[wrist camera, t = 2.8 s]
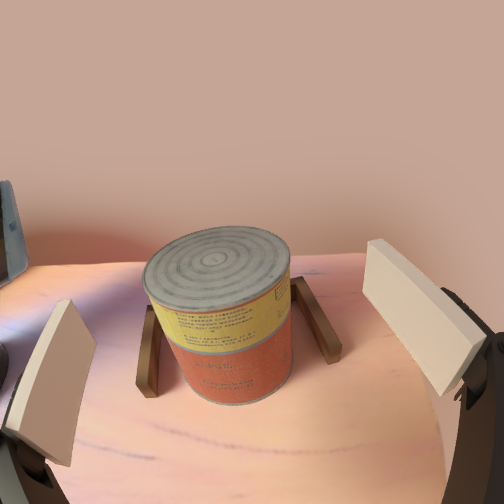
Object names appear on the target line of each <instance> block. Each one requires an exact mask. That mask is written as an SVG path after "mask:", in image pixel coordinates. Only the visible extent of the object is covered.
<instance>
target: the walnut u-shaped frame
mask: <svg viewBox="0 0 504 504" xmlns="http://www.w3.org/2000/svg"><path fill="white" fill-rule="evenodd" d="M290 295H291V301H294V300H297V302H298V304H299V306H300V308H301V310H302V312H303V314H304V317H305V319H306V321H307V323H308V325H309V327H310V329H311V331H312V333H313V335H314V337H315V339H316V341H317V343H318V345H319V347H320V350H321V352H322V354H323V356H324V358H325V360H326V362H327V364H328V365H329V364H332V363H336V362H339V359H340V354H341V349H342V344H341V342H340V341H339V339H338V337H337V335H336V334H335V332H334V330H333V328H332V327H331V325H330V323H329V321H328V319H327V318H326V316H325V314H324V312H323V311H322V309H321V307H320V306H319V304H318V302H317V300H316V299H315V297H314V295H313V293H312V292H311V290H310V288H309V287H308V285H307V283H306V281H305V280H304V278H303V276H301V277H296V278H292V279H290ZM161 331H162V327H161V324H160V322H159V320H158V318H157V315H156V313H155V310H154V308H153V306H152V305H147V311H146V316H145V322H144V328H143V334H142V340H141V346H140V353H139V360H138V368H137V376H136V386H137V387H138V388H139V390H140V391H141V392H142V394H143V395H144V396H145V398H154V397H157V385H158V368H159V354H160V341H161Z"/></svg>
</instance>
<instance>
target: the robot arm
mask: <svg viewBox="0 0 504 504" xmlns="http://www.w3.org/2000/svg"><path fill="white" fill-rule="evenodd" d="M28 264H29V255H28V250H27V246H26V242H25V239H24V234H23V230H22V226H21V222H20V218H19V214H18V209H17V205H16V201H15V196H14V192H13V189H12V185H11V183H10V181H8V180H6V181H1V182H0V288H1V287H2V286H4V285H6V284H8V283H11V281H12V280H13V279H14V278H15V277H17V276H18V275H20V274H21V273H23V272H24V271H25V270H26V269H27V267H28ZM362 292H363V293H364V295H365V296H366V297H367V298H368V300H369V301H370V302H371V303H372V305H373V306H374V307H375V308H376V310H377V311H378V312H379V313H380V315H381V316H382V317H383V319H384V320H385V321H386V322H387V324H388V325H389V326H390V328H391V329H392V330H393V332H394V333H395V334H396V336H397V337H398V338H399V340H400V341H401V342H402V344H403V345H404V346H405V348H406V349H407V350H408V352H409V353H410V354H411V356H412V357H413V359H414V360H415V361H416V363H417V364H418V366H419V367H420V368H421V370H422V371H423V373H424V374H425V375H426V377H427V378H428V380H429V381H430V383H431V384H432V385H433V387H434V388H435V390H436V391H437V393H438V394H439V396H440V397H441V396H442V395H444V394H446V393H447V392H449V391H450V390H452V389H453V388H455V386H456V385H457V383H458V382H459V381H460V379H461V378H462V379H463V381H464V382H465V383H464V384H463V385H462V387H461V388H460V389H459V391H458V392H457V394H456V395H455V397H454V401H456V400H457V398H458V397H459V396H460V395H461V393H462V396H461V399H460V400H459V401H461V409H460V418H459V428H458V434H457V440H456V446H455V452H454V457H453V462H452V466H451V471H450V475H449V479H448V483H447V486H446V490H445V493H444V497H443V500H442V503H441V504H504V332H499V333H497V334H495V333H494V332H493V331H492V330H491V329H490V328H489V327H488V326H487V325H486V324H485V323H484V322H483V321H482V320H481V319H480V318H479V317H478V316H477V315H476V314H475V313H474V312H473V311H472V310H471V309H469V307H468V306H467V305H466V304H465V303H463V301H462V300H461V299H460V298H459V297H458V296H457V295H456V294H455V293H453V292H451V291H449V290H447V289H446V288H444V287H442V288H439V287H438V286H437V285H436V284H435V283H433V282H432V281H431V280H430V279H429V278H428V277H427V276H426V275H425V274H424V273H422V272H421V271H420V270H419V269H418V268H417V267H416V266H415V265H413V264H412V263H411V262H410V261H408V260H407V259H406V258H405V257H404V256H403V255H402V254H401V253H399V252H398V251H397V250H396V249H394V248H393V247H392V246H391V245H389V244H388V243H387V242H386V241H385V240H383V239H382V238H381V239H376V240H371V241H368V246H367V256H366V266H365V274H364V283H363V290H362ZM96 345H97V343H96V341H95V340H94V338H93V337H92V335H91V333H90V332H89V330H88V328H87V327H86V325H85V323H84V322H83V320H82V318H81V316H80V315H79V313H78V311H77V309H76V307H75V306H74V304H73V302H72V300H71V299H69V300H63V301H59V302H58V303H57V305H56V307H55V309H54V311H53V312H52V314H51V316H50V318H49V320H48V322H47V324H46V326H45V328H44V330H43V332H42V334H41V336H40V338H39V340H38V342H37V344H36V346H35V348H34V350H33V353H32V355H31V357H30V359H29V362H28V364H27V366H26V369H25V370H24V371H23V373H22V374H21V375H20V377H19V378H18V380H17V383H16V385H15V388H14V389H15V390H14V391H13V393H12V396H11V397H12V399H10V402H9V405H8V408H7V411H6V414H5V417H4V420H3V424H2V427H1V430H0V504H70V503H69V502H68V500H67V498H66V497H65V495H64V493H63V491H62V490H61V488H60V486H59V484H58V482H57V480H56V478H55V476H54V474H53V472H52V470H51V468H50V467H49V466H48V464H46V463H45V458H47V459H49V460H50V461H52V462H53V463H55V464H58V465H62V466H67V467H70V465H71V457H72V450H73V443H74V437H75V431H76V426H77V420H78V415H79V410H80V406H81V401H82V397H83V393H84V388H85V384H86V380H87V377H88V373H89V369H90V365H91V362H92V358H93V355H94V351H95V348H96ZM7 367H8V355H7V352H6V350H5V348H4V347H3V346H2V344H1V343H0V387H1V385H2V383H3V381H4V378H5V375H6V371H7Z"/></svg>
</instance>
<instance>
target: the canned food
mask: <svg viewBox="0 0 504 504" xmlns="http://www.w3.org/2000/svg"><path fill="white" fill-rule="evenodd" d="M289 264H290V252H289V248H288V247H287V245H286V243H285V242H284V241H283V240H282V239H281V238H280V237H278V236H277V235H274V234H273V233H271V232H268V231H266V230H263V229H259V228H254V227H247V226H225V227H215V228H210V229H205V230H201V231H197V232H194V233H191V234H188V235H185V236H183V237H180V238H178V239H176V240H174V241H172V242H170V243H169V244H167V245H166V246H164V247H163V248H162V249H160V250H159V251H158V252H157V253H155V254H154V255H153V256H152V257H151V259H150V260H149V261H148V263H147V264H146V266H145V268H144V270H143V274H142V283H143V287H144V289H145V291H146V293H147V294H148V296H149V298H150V301H151V303H152V306H153V308H154V310H155V313H156V315H157V318H158V320H159V322H160V324H161V327H162V329H163V331H164V333H165V336H166V338H167V340H168V342H169V344H170V346H171V349H172V351H173V353H174V355H175V357H176V359H177V361H178V363H179V365H180V367H181V369H182V371H183V373H184V376H185V379H186V381H187V383H188V385H189V386H190V387H191V389H192V390H193V391H194V392H195V393H197V394H198V395H199V396H201V397H202V398H204V399H206V400H208V401H210V402H213V403H216V404H221V405H228V406H238V405H246V404H250V403H254V402H257V401H260V400H262V399H264V398H266V397H268V396H269V395H271V394H272V393H274V392H275V391H276V390H277V389H278V388H280V386H281V385H282V384H283V383H284V382H285V380H286V379H287V377H288V376H289V373H290V371H291V368H292V363H293V352H292V330H291V295H290V270H289Z"/></svg>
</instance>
